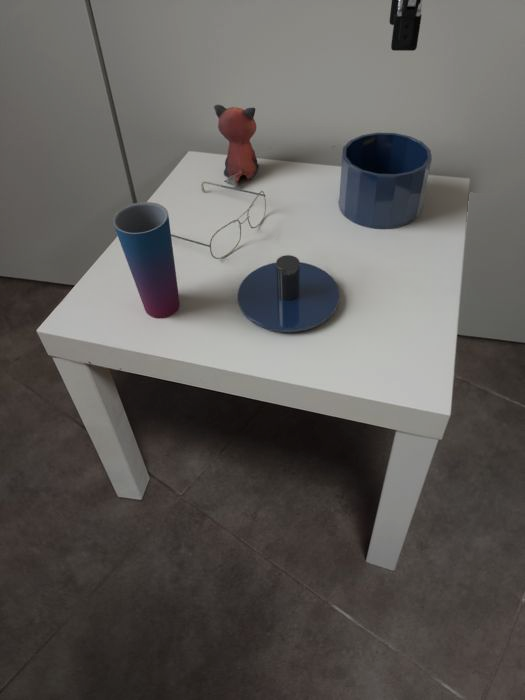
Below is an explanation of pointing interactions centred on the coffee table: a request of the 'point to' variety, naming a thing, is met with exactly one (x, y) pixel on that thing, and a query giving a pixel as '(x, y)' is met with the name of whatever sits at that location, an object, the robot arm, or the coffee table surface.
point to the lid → (288, 295)
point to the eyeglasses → (230, 222)
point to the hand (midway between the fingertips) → (402, 36)
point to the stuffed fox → (238, 141)
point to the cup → (149, 255)
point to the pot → (383, 179)
